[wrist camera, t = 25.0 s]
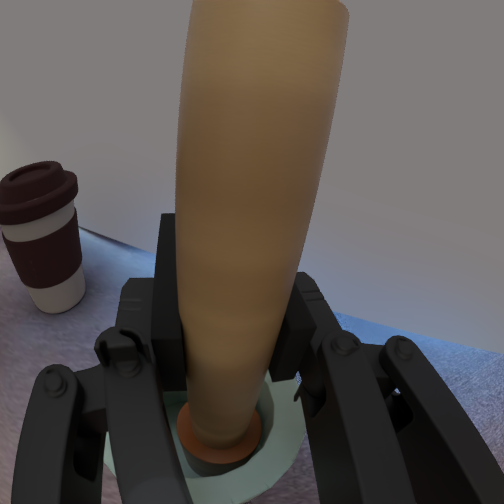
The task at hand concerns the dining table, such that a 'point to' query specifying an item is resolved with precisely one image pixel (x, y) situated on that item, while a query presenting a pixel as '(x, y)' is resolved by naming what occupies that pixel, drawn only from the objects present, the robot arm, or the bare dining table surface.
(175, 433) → the jar
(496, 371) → the dining table surface
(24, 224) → the coffee cup
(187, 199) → the orange-tipped wooden dowel
